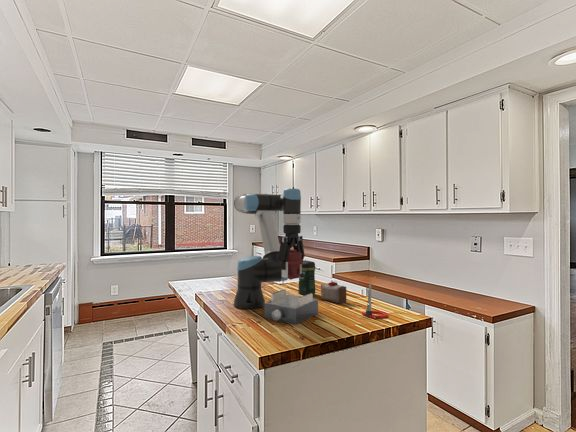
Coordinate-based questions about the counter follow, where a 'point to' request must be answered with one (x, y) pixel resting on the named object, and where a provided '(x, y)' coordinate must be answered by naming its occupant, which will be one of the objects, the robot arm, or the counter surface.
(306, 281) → the coffee jar
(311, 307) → the motor housing
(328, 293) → the food item
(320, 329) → the counter surface
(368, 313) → the tow hook
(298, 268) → the mechanical component
